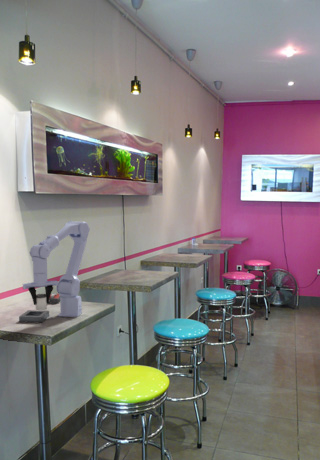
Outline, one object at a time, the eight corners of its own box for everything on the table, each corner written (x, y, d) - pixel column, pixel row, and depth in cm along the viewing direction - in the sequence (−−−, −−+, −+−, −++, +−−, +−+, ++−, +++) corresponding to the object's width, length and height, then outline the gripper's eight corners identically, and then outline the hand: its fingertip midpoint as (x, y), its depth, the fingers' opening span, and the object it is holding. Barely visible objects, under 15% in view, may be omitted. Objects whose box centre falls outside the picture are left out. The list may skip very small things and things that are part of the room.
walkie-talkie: (46, 298, 229) (37, 308, 209) (46, 290, 228) (37, 299, 209) (63, 298, 229) (55, 308, 209) (62, 290, 229) (55, 299, 209)
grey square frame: (49, 316, 195) (49, 310, 194) (41, 322, 185) (41, 317, 184) (28, 315, 195) (28, 310, 195) (19, 322, 185) (19, 316, 185)
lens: (48, 307, 184) (48, 294, 184) (43, 310, 180) (43, 296, 179) (39, 306, 185) (38, 293, 185) (33, 309, 181) (33, 296, 180)
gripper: (54, 269, 188) (55, 299, 189) (20, 272, 181) (21, 303, 182) (59, 272, 182) (59, 303, 183) (24, 275, 175) (25, 307, 176)
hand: (41, 303), depth 182 cm, fingers closed on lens, 5 cm apart
